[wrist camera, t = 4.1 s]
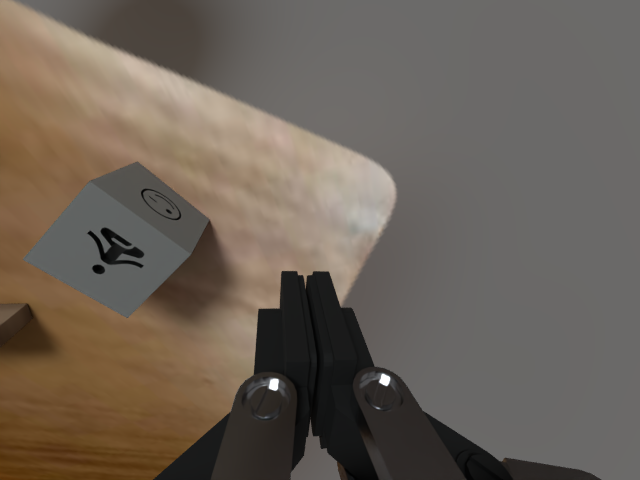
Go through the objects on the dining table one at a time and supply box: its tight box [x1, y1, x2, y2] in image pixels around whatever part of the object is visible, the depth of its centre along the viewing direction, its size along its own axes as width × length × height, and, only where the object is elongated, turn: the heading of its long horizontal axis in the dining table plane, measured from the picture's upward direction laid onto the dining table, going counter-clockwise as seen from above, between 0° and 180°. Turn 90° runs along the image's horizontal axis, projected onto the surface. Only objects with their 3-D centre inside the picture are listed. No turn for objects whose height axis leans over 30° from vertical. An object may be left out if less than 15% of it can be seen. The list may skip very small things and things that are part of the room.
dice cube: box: [23, 162, 210, 318], centre depth 16 cm, size 5×5×5 cm
